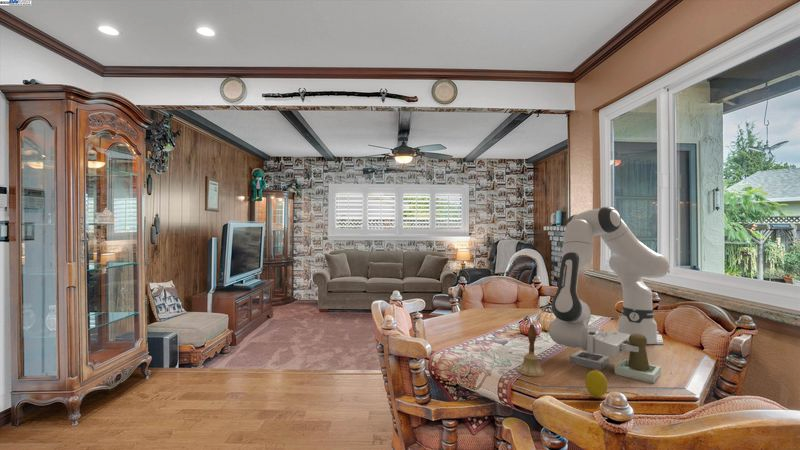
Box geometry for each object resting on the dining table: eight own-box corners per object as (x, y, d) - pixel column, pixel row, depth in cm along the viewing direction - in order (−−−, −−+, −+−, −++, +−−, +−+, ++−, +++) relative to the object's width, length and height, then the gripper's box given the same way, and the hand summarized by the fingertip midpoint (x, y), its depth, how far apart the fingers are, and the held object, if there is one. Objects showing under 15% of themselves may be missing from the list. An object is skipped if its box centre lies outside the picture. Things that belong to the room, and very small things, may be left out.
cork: (652, 370, 125) (651, 338, 124) (632, 370, 126) (631, 338, 125) (644, 362, 131) (643, 331, 130) (625, 362, 132) (624, 331, 131)
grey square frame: (579, 356, 145) (579, 350, 145) (609, 363, 138) (609, 356, 138) (570, 363, 138) (570, 356, 138) (600, 370, 130) (600, 363, 131)
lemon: (593, 402, 105) (594, 373, 105) (581, 394, 111) (581, 366, 111) (612, 401, 106) (612, 372, 106) (598, 393, 112) (598, 365, 112)
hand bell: (541, 369, 131) (542, 322, 132) (546, 378, 123) (546, 328, 123) (516, 367, 133) (517, 321, 133) (519, 376, 125) (520, 326, 125)
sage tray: (623, 366, 135) (623, 358, 135) (660, 374, 128) (660, 366, 128) (614, 374, 127) (614, 366, 127) (653, 383, 120) (653, 375, 120)
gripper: (604, 342, 144) (647, 350, 134) (586, 354, 129) (633, 364, 120) (604, 325, 144) (647, 332, 134) (586, 335, 129) (633, 344, 120)
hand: (640, 347), depth 127 cm, fingers closed on cork, 3 cm apart
